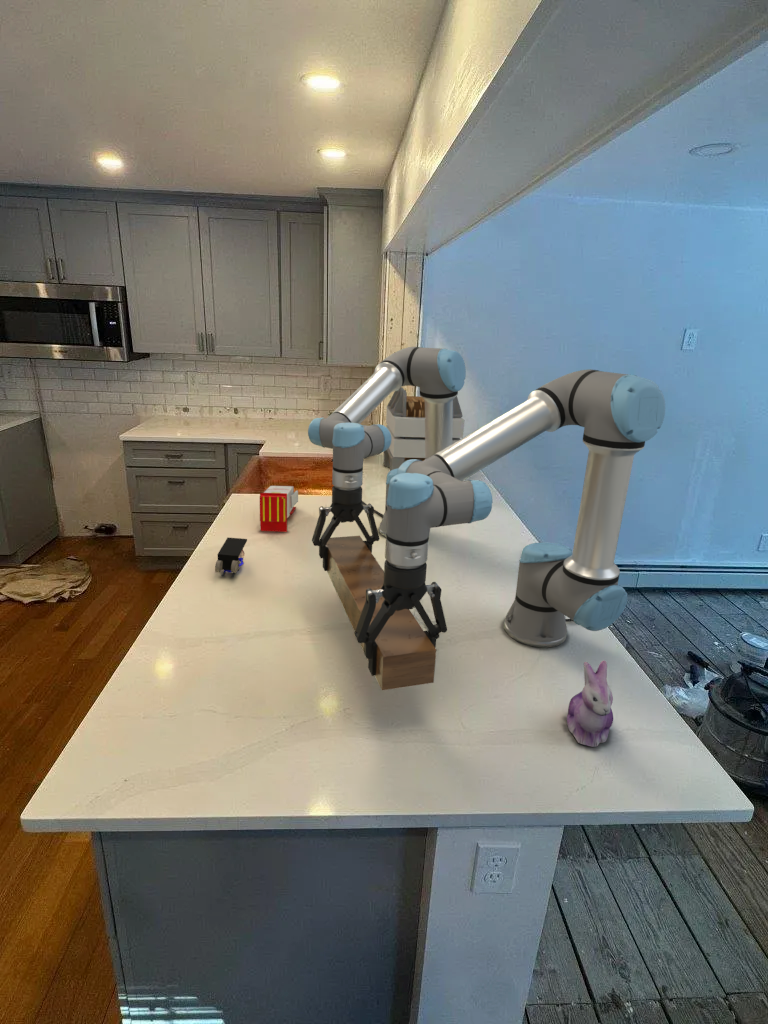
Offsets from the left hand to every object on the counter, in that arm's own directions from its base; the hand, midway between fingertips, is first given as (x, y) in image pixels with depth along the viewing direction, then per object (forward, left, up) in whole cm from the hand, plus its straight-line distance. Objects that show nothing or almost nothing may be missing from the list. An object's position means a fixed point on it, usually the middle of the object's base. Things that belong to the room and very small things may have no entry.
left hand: (345, 567), depth 149 cm
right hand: (+42, -18, 0) cm, 46 cm away
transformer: (-81, +106, -10) cm, 133 cm away
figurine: (+68, +7, -10) cm, 69 cm away
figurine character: (-35, -15, -10) cm, 40 cm away
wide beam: (+21, -9, 0) cm, 23 cm away
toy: (-65, +18, -10) cm, 68 cm away
